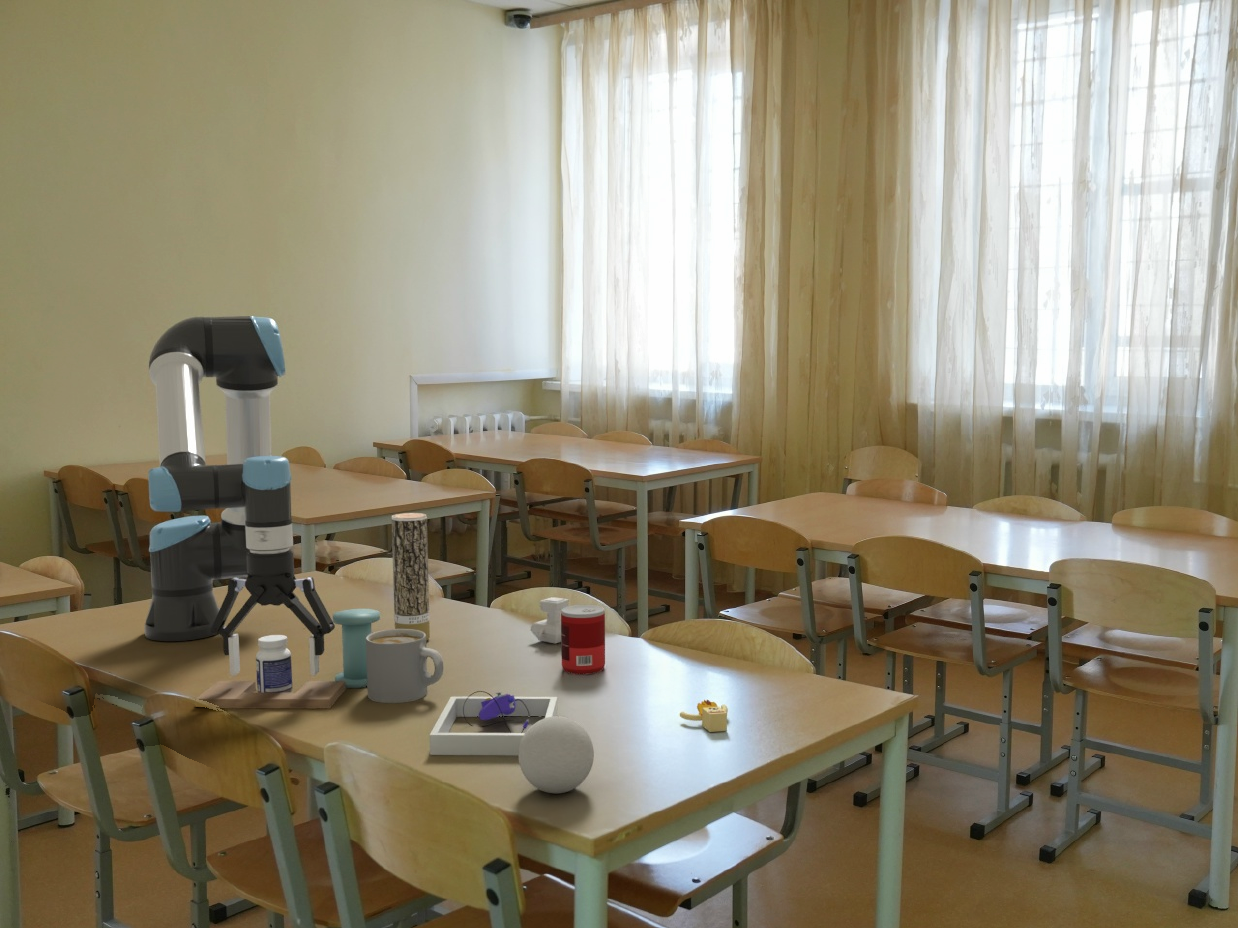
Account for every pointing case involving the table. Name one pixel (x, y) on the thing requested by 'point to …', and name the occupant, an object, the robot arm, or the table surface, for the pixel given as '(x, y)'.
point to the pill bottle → (273, 665)
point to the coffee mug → (399, 665)
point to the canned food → (583, 639)
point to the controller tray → (483, 742)
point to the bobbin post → (355, 644)
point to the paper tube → (410, 572)
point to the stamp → (550, 620)
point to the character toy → (709, 716)
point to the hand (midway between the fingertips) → (275, 673)
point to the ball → (556, 754)
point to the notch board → (273, 695)
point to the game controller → (498, 707)
